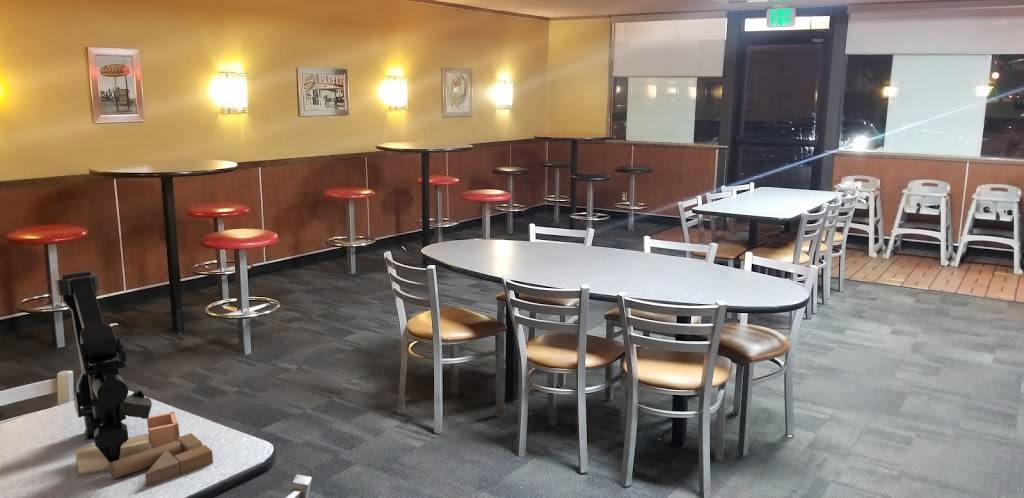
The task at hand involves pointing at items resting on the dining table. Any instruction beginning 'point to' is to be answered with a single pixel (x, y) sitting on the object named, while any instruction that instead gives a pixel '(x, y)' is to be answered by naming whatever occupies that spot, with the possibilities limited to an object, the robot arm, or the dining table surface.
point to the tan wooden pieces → (165, 460)
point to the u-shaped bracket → (162, 429)
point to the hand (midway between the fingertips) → (114, 457)
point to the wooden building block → (95, 460)
